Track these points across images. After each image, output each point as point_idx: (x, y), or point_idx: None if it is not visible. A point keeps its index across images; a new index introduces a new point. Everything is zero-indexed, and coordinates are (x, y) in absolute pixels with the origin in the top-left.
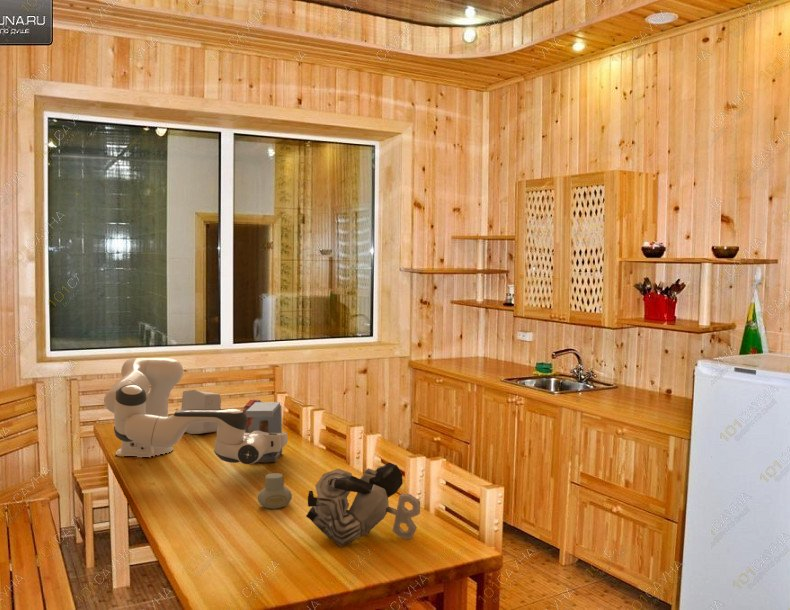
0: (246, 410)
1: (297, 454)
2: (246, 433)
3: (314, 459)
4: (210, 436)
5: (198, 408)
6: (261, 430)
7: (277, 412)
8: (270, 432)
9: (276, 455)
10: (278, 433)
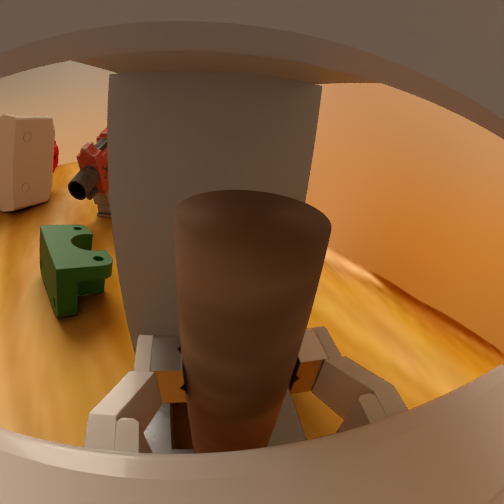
0: (101, 145)
1: (337, 342)
2: (13, 481)
3: (437, 382)
4: (28, 217)
5: (6, 153)
6: (230, 366)
7: (294, 127)
8: (316, 342)
9: (302, 433)
10: (497, 413)
